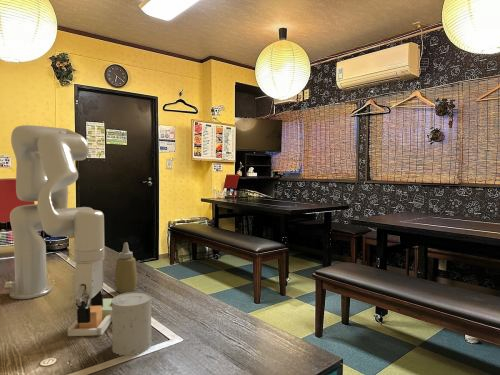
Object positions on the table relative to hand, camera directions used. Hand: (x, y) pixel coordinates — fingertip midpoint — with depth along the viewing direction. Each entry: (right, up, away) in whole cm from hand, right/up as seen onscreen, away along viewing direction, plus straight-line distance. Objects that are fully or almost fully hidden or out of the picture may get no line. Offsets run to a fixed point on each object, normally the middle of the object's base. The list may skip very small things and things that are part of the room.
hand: (90, 314), depth 97 cm
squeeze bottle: (0, -2, +29) cm, 29 cm away
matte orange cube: (0, -4, 0) cm, 4 cm away
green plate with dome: (+3, -4, +5) cm, 7 cm away
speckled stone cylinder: (+15, -5, -9) cm, 18 cm away
